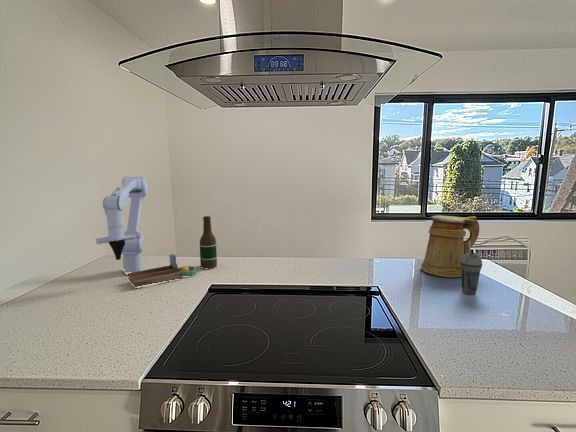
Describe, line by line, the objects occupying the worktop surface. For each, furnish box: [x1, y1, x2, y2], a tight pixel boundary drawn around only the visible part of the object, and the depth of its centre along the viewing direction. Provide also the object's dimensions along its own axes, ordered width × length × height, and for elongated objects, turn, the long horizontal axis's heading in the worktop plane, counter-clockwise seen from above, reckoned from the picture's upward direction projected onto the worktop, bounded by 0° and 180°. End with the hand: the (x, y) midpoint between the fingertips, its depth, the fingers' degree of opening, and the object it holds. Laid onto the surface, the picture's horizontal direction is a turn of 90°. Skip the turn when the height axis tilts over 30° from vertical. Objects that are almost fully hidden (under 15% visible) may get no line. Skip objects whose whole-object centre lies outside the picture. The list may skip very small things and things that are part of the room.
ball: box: [181, 265, 189, 272], centre depth 153 cm, size 4×4×4 cm
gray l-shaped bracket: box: [169, 253, 179, 269], centre depth 149 cm, size 4×2×7 cm, turn 38°
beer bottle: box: [199, 215, 218, 269], centre depth 162 cm, size 8×8×24 cm
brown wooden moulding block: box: [128, 264, 182, 287], centre depth 145 cm, size 10×18×4 cm, turn 128°
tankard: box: [420, 215, 480, 278], centre depth 154 cm, size 18×24×25 cm
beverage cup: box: [460, 241, 483, 296], centre depth 129 cm, size 7×7×20 cm
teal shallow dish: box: [178, 265, 197, 277], centre depth 154 cm, size 8×8×2 cm
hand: (118, 259), depth 141 cm, fingers closed
